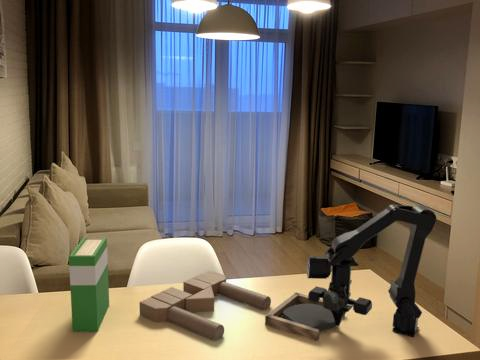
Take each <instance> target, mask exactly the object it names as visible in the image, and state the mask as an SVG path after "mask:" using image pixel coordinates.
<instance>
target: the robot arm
mask: <svg viewBox="0 0 480 360" xmlns="http://www.w3.org/2000/svg"><path fill="white" fill-rule="evenodd" d="M437 219H438V218H437V215H436V213H435V212H434V211H432V210H431V209H430V208H428V207H427V206H426V205H424V204H416V205H414V206H413V205H404V204H403V205H398V204H389V205H388V206H387V207H386V208H385V209H383V210H382V211H380V212H379V213H378V214H376V215H375V216H373V217H372V218H371V219H368V221H366V222H365V223H363V224H361V226H359V227H358V228H356V229H354V230H351V231H347V232H344V233H342V234H339V235H337V236H336V237H335V238H334V239H333V240H332V241H331V246H330V247H329V248H327V249H328V250H326V251H325V252H324V256H323V255H321V256H317V255H316V256H315V255H308V259H307V263H306V277H307V279H313V280H314V279H315V280H316V279H318V280H319V279H321V280H324V279H328V278H329V277H330V276H331V279H330V280H331V281H330V282H329V285H328V289H327V288H325V287H321V286H317V285H316V286H314V287H313V288H312V289H311V290H310V291H308V295H307V296H308V300H310V301H314V302H318V301H319V300H320V299H322V300H323V307H324V308H325V309H330V310H331V312H332V314H333V317H334V320H335V323H336V327H340V326H341V323H342V321H343V319H344V318H345V315H346V314H347V313H348V312H349V311H350V310H351V309H352V308H353V309H352V310H353V311H354V313H356V314H359V315H363V316H367V315H368V314H369V312H371V310H372V309H373V302H372V301H371V299H369V298H365V297H358V298H357V299H356V300H355V299H354V298H350V297H351V294H352V293H351V285H352V278H351V274H352V267H359V263H358V262H357V259H355V258H354V256H355V255H356V254H357V253H358V252H359V251H360V249H361V248H362V247H363V245H364V244H365V243H366V242H367V241H369V240H370V239H372V238H374V237H375V236H377V235H378V234H379V233H381V232H382V231H384V230H386V229H387V228H389V227H390V226H392V224H395V223H396V222H403V223H407V224H408V226H409V236H408V240H407V244H406V249H405V253H404V257H403V260H402V264H401V269H400V273H399V276H398V278H397V279H396V280H393V279H391V280H390V285H389V286H390V287H389V289H388V290H387V292H388V294H389V297H390V299H391V301H392V302H393V304H394V305H395V306H396V308H397V309H396V310H395V312H394V313H393V320H392V327H393V328H392V332H394V333H395V332H396V333H399V334H401V335H405V336H410V337H413V338H414V337H415V336H416V334H417V333H418V331H419V328H420V327H419V326H418V325H419V324H418V323H419V318H420V317H421V316H422V313H423V312H422V310H421V309H420V308H419V306H418V305H417V303H416V287H415V286H416V285H415V282H416V279H417V274H418V270H419V266H420V262H421V258H422V255H423V250H424V247H425V243H426V239H427V238H428V237H429V236H430V234H431V233H432V232H433V230H434V227H435V225H436V223H437Z"/></svg>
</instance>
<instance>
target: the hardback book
mask: <svg viewBox="0 0 480 360" xmlns="http://www.w3.org/2000/svg"><path fill="white" fill-rule="evenodd" d="M108 257H109V256H108V237H107V236H104V237H103V238H102V239H88V238H87V236H84V237H82V239H81V240H80V242H79V243H77V244H76V246H75V248H74V249H73V250H72V251H71V253H70V254H69V255H68V264H69V265H68V266H69V268H68V269H69V283H70V285H69V287H70V302H71V304H70V305H71V321H72V322H71V324H72V325H71V326H72V333H98V332H99V329H100V328H101V325H102V324H103V321H104V318H105V316H106V314H107V312H108V309H109V307H110V291H109V290H110V287H109V261H108V260H109V259H108Z"/></svg>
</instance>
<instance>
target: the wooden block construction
mask: <svg viewBox="0 0 480 360" xmlns="http://www.w3.org/2000/svg"><path fill="white" fill-rule="evenodd" d="M182 283H183V286H182V287H183V288H182V289H183V290H181V289H178V288H175V287H173V286H171V287H169V288H167V289H164V290H162V291H160V292H158V293H155V294H153V295H151V296H150V297H148V298H145V299H143V300H141V301H139V316H141V317H142V318H145V319H147V320H149V321H151V322H153V323H164V322H165V323H166V322H171V323H173V324H175V325H178V326H180V327H183V328H184V329H187V330H189V331H192V332H194V333H196V334H198V335H202V336H203V337H206V338H208V339H210V340H213V341H218V340H219V339H222V338H223V336H224V334H225V327H224V325H222V324H221V323H218V322H215V321H213V320H211V319H208V318H206V317H203V316H201V315H199V314H195V313H199V312H200V313H201V312H205V313H206V312H214V311H215V297H216V296H218V295H220V296H222V297H225V298H229V299H231V300H233V301H236V302H240V303H241V304H244V303H245V304H244V305H247V304H248V306H251V307H253V308H256V309H259V310H261V311H266V310H268V309H269V308H270V307H271V304H272V299H271V297H270V296H268V295H266V294H265V295H264V294H262V293H259V292H256V291H253V290H249V289H246V288H245V287H244V288H243V287H241V286H238V285H235V284H233V283H229V282H227V277H226V274H222V273H219V272H216V271H214V270H210V269H209V270H208V271H205V272H203V273H200V274H198V275H196V276H194V277H191V278H189V279H187V280H185V281H183V282H182Z"/></svg>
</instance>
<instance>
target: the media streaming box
mask: <svg viewBox="0 0 480 360" xmlns="http://www.w3.org/2000/svg"><path fill="white" fill-rule="evenodd" d="M282 318H283V319H286V320H289V321H293V322H296V323H299V324H302V325H306V326H309V327H312V328H315V329H319V333H321V332H325V331H329V330H332V329H335V328H337V326H336V323H335V320H334V317H333V314H332V312H331V311H330V310H328V309H325V308H324V307H323V306H321V305H317V304H296V305H294V306H291V307H288V308H286V309H285V310H284V311H283V316H282Z"/></svg>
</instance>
